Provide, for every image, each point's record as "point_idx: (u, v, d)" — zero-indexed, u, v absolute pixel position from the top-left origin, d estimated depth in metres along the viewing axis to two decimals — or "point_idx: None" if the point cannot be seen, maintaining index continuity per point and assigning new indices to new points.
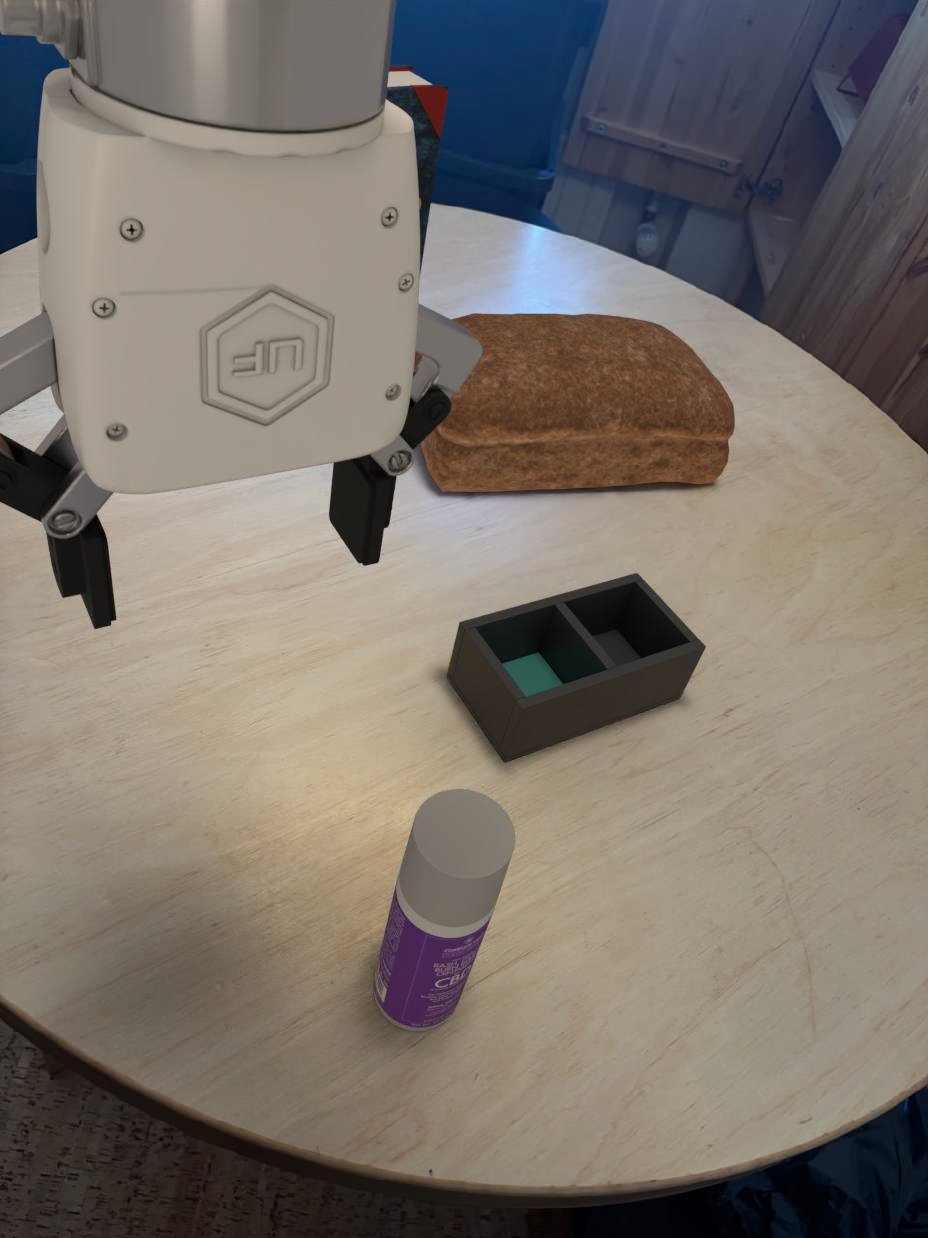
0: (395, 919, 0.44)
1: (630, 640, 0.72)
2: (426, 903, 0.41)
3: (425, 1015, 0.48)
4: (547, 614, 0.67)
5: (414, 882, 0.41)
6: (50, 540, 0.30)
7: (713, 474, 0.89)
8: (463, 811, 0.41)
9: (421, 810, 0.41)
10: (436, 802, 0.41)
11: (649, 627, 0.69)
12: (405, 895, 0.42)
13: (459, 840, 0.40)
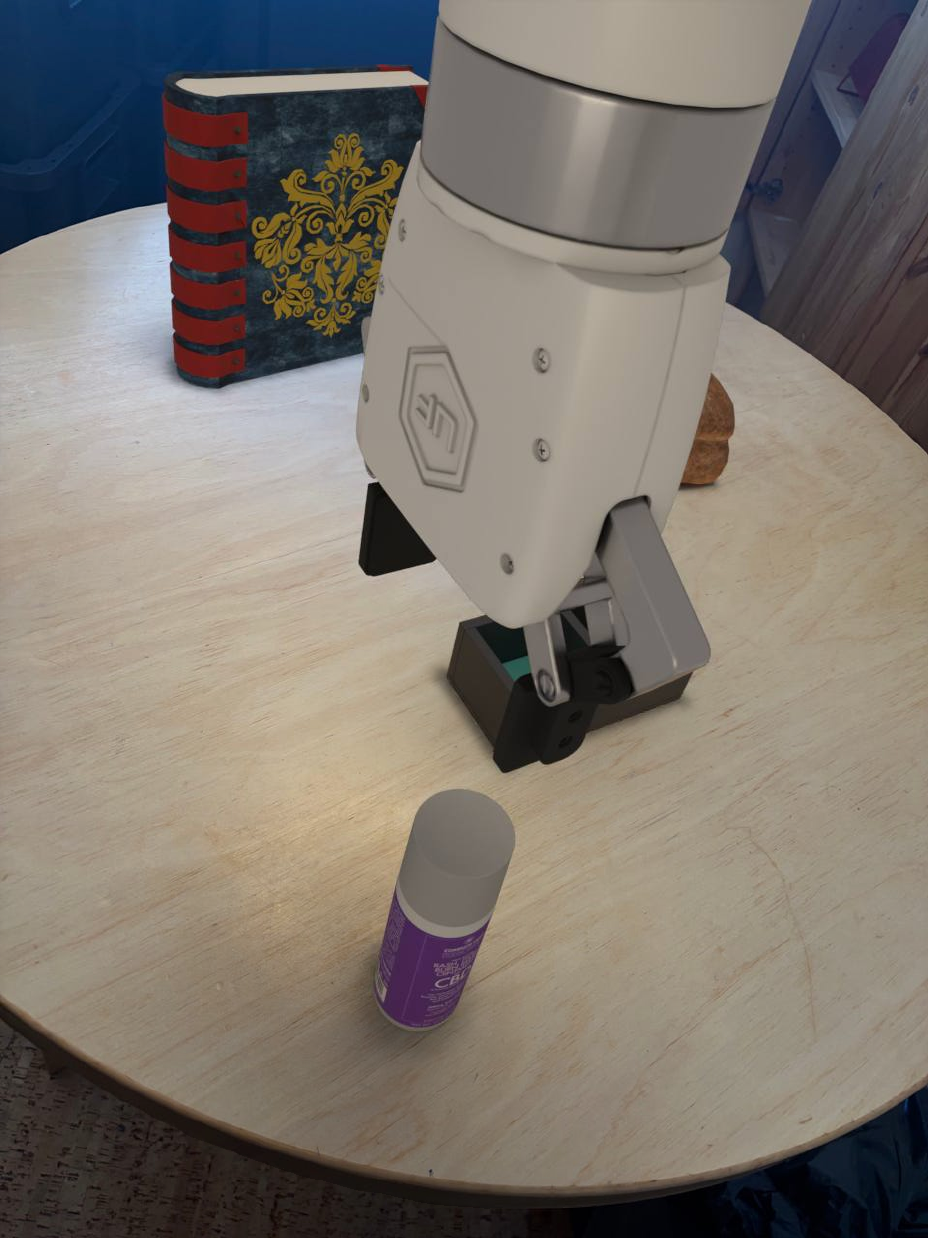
0: (395, 919, 0.44)
1: None
2: (426, 903, 0.41)
3: (425, 1015, 0.48)
4: None
5: (414, 882, 0.41)
6: None
7: (713, 474, 0.89)
8: (463, 811, 0.41)
9: (421, 810, 0.41)
10: (436, 802, 0.41)
11: None
12: (405, 895, 0.42)
13: (459, 840, 0.40)
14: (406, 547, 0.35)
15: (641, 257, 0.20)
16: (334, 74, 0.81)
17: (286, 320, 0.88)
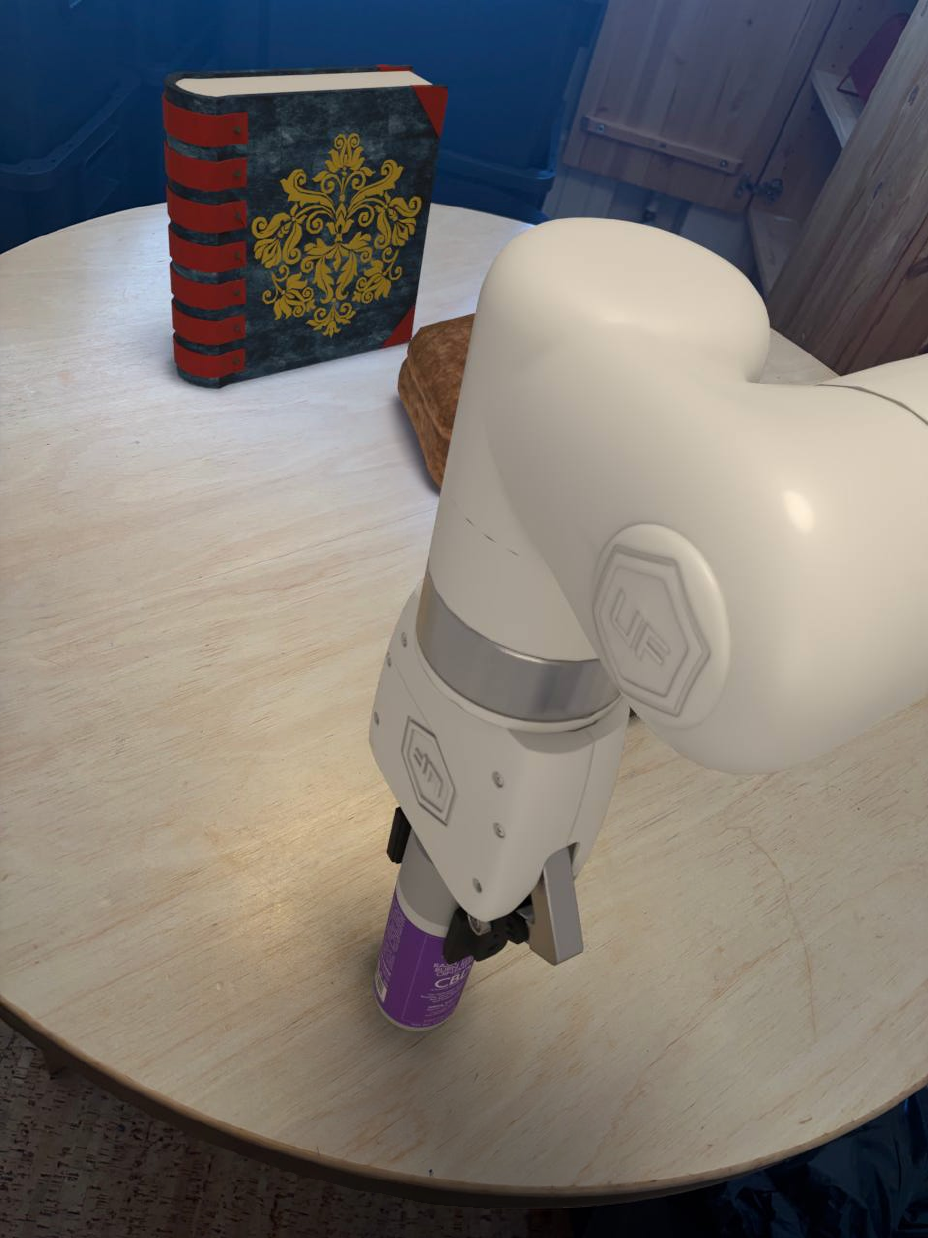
0: (395, 919, 0.44)
1: None
2: (426, 903, 0.41)
3: (425, 1015, 0.48)
4: None
5: (414, 882, 0.41)
6: None
7: None
8: None
9: None
10: None
11: None
12: (405, 894, 0.42)
13: None
14: None
15: (564, 724, 0.30)
16: (334, 74, 0.81)
17: (286, 320, 0.88)
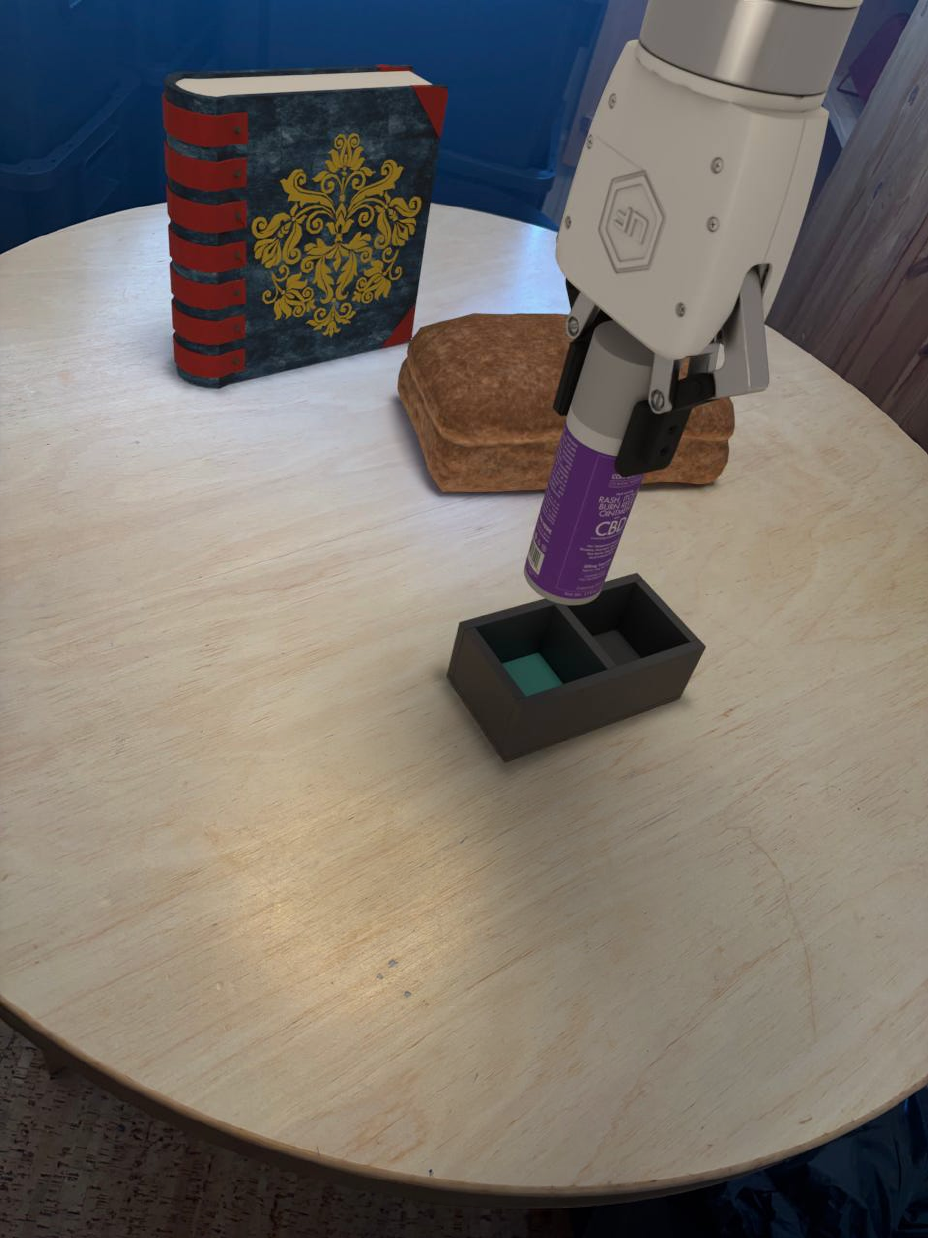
0: (564, 456, 0.48)
1: (630, 640, 0.72)
2: (604, 410, 0.45)
3: (580, 578, 0.52)
4: (547, 614, 0.67)
5: (593, 391, 0.45)
6: None
7: (713, 474, 0.89)
8: None
9: (599, 327, 0.45)
10: (611, 324, 0.46)
11: (649, 627, 0.69)
12: (580, 415, 0.46)
13: (636, 346, 0.44)
14: None
15: (780, 99, 0.34)
16: (334, 74, 0.81)
17: (286, 320, 0.88)
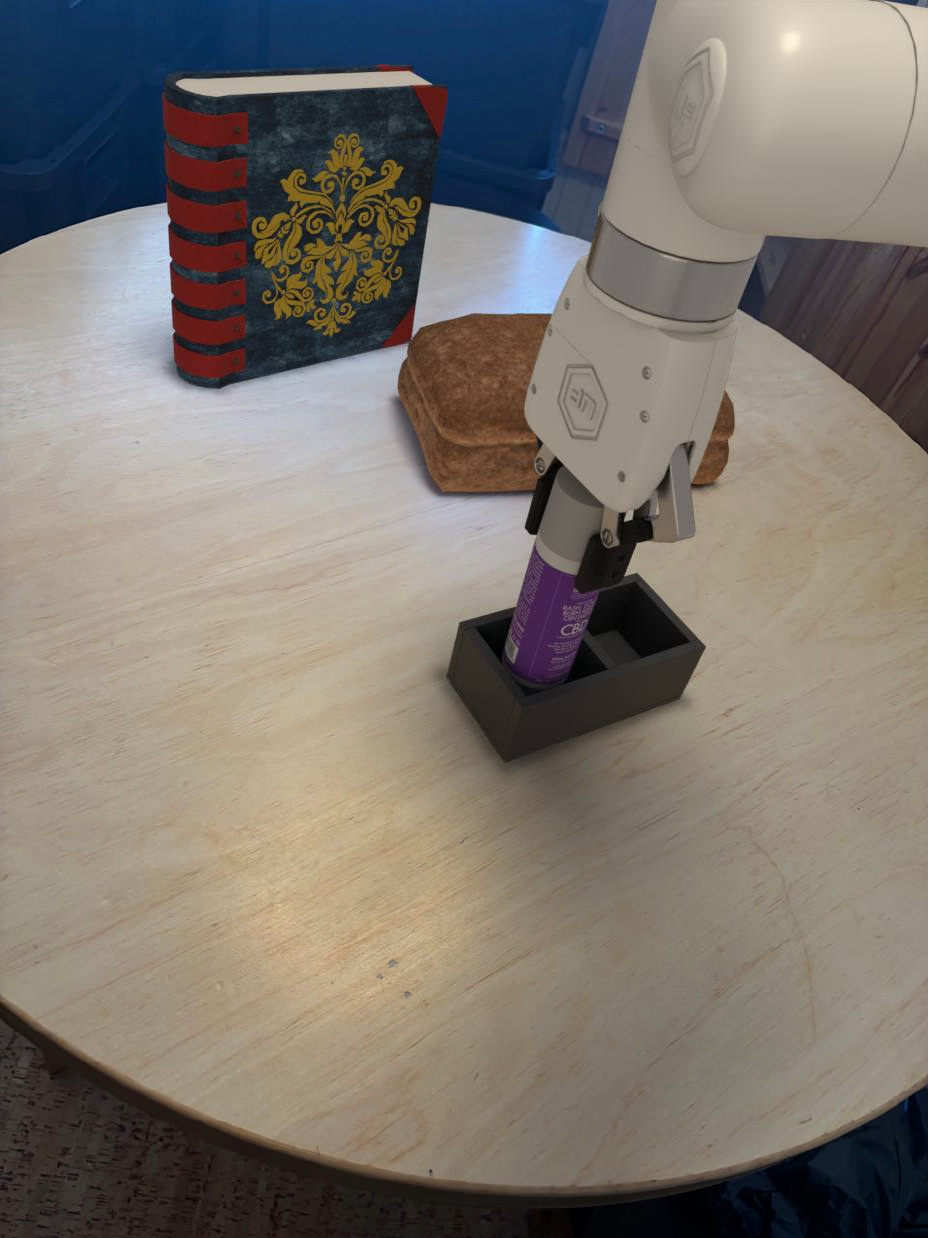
0: (534, 571, 0.57)
1: (630, 640, 0.72)
2: (565, 540, 0.54)
3: (548, 668, 0.61)
4: None
5: (556, 524, 0.54)
6: None
7: (713, 474, 0.89)
8: None
9: (561, 470, 0.54)
10: None
11: (649, 627, 0.69)
12: (546, 541, 0.55)
13: None
14: None
15: (695, 325, 0.43)
16: (334, 74, 0.81)
17: (286, 320, 0.88)
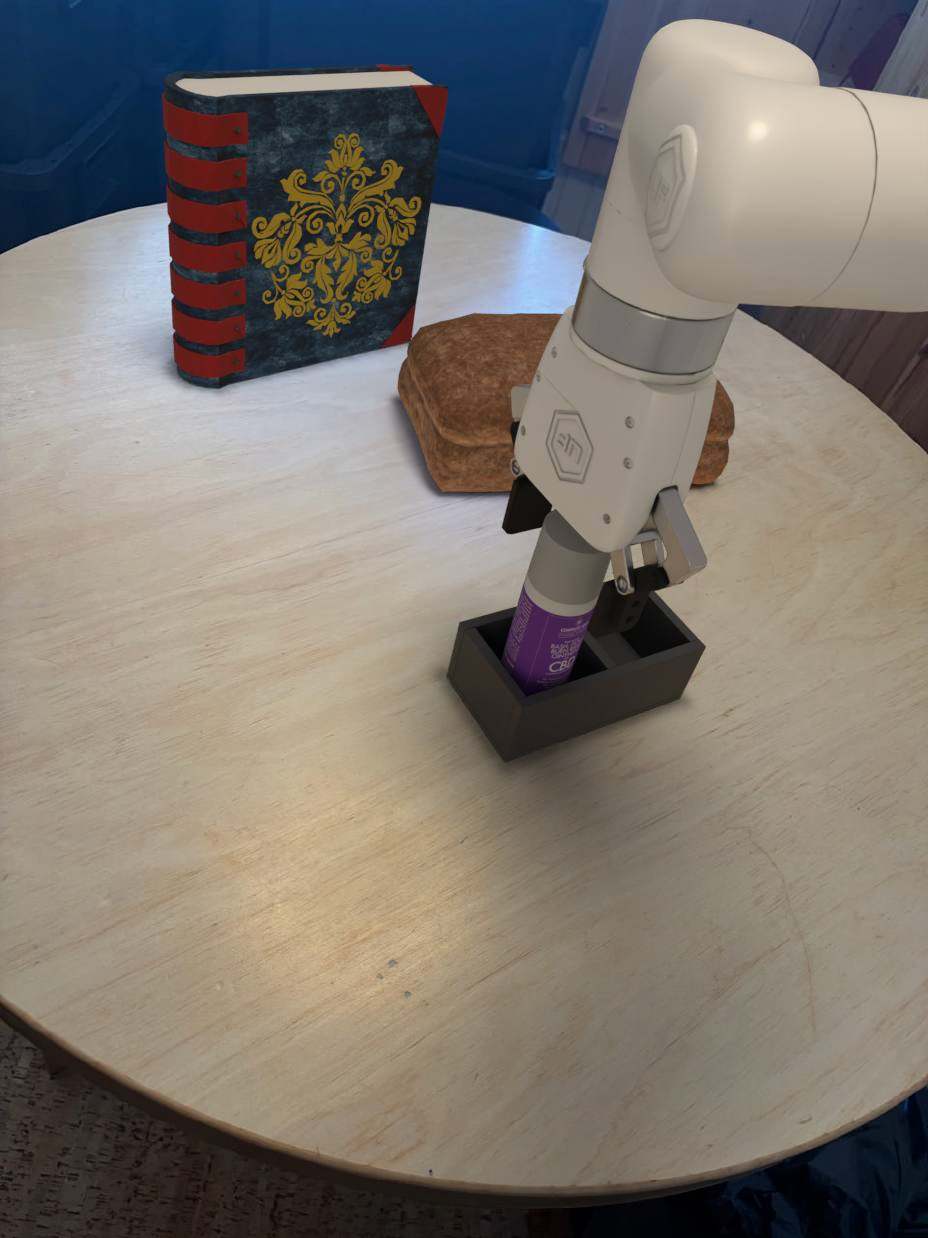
0: (522, 611, 0.59)
1: (630, 640, 0.72)
2: (552, 583, 0.56)
3: None
4: None
5: (543, 568, 0.56)
6: None
7: (713, 474, 0.89)
8: None
9: (548, 516, 0.56)
10: (558, 512, 0.57)
11: (649, 627, 0.69)
12: (534, 583, 0.57)
13: (577, 534, 0.55)
14: (530, 517, 0.60)
15: (676, 377, 0.45)
16: (334, 74, 0.81)
17: (286, 320, 0.88)
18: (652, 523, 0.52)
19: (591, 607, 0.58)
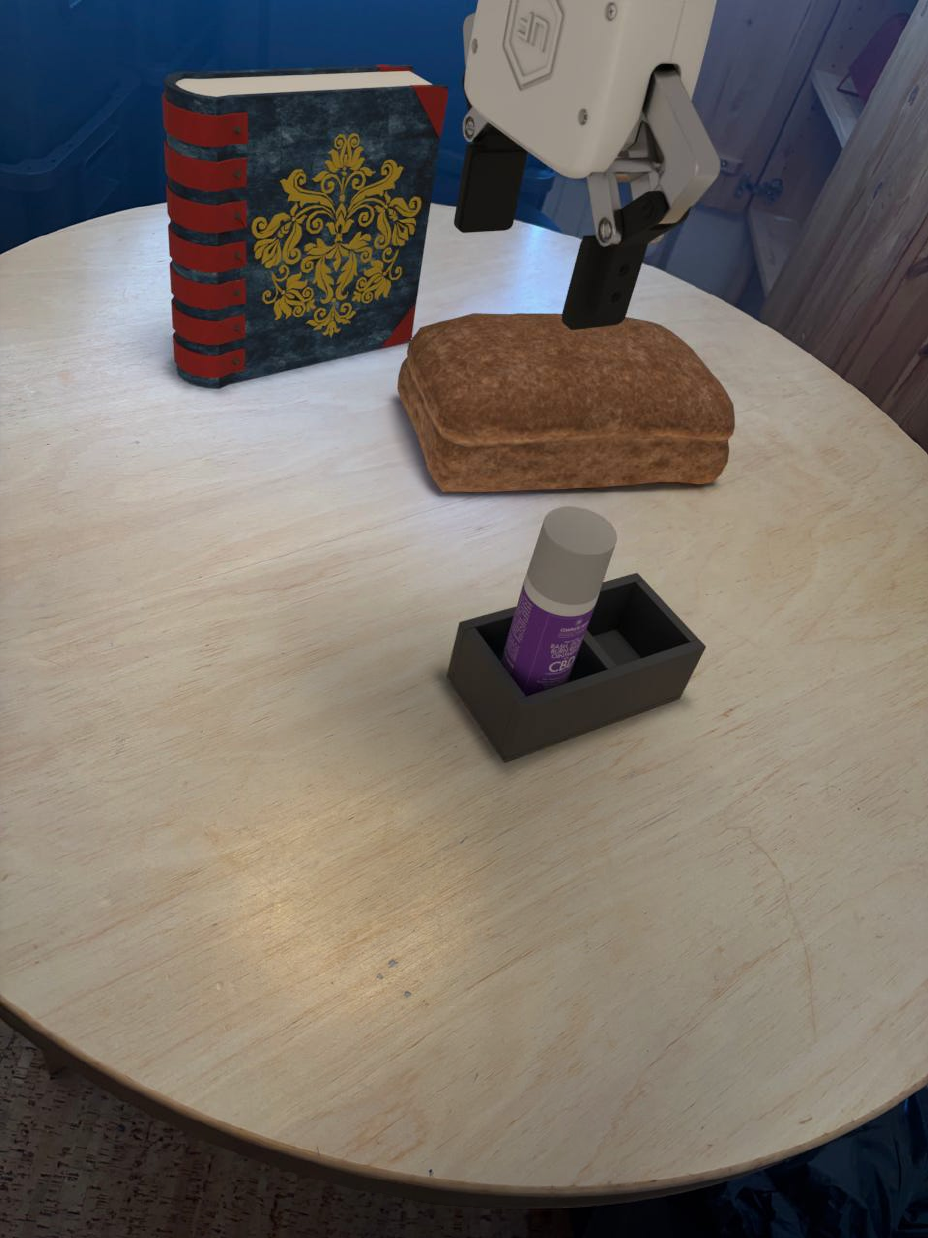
0: (522, 611, 0.59)
1: (630, 640, 0.72)
2: (552, 583, 0.56)
3: None
4: None
5: (543, 568, 0.56)
6: None
7: (713, 474, 0.89)
8: (578, 519, 0.56)
9: (548, 516, 0.56)
10: (558, 512, 0.57)
11: (649, 627, 0.69)
12: (534, 583, 0.57)
13: (577, 534, 0.55)
14: (490, 208, 0.47)
15: None
16: (334, 74, 0.81)
17: (286, 320, 0.88)
18: (645, 150, 0.38)
19: (591, 607, 0.58)
